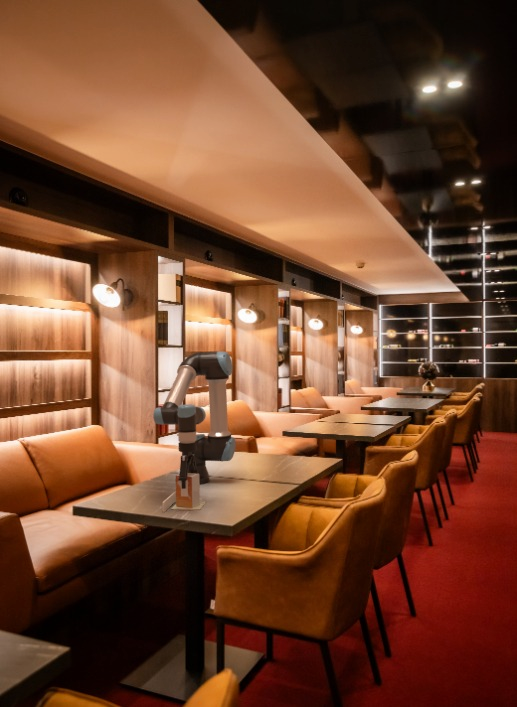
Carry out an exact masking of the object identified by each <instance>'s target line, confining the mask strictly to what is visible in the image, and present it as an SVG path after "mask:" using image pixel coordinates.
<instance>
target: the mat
mask: <svg viewBox="0 0 517 707" xmlns="http://www.w3.org/2000/svg"><path fill="white" fill-rule="evenodd" d="M206 503H207V501H201V500H200V505H198V506H196V507H194V508H189V507H181V506H176V503H174V504H173V505H172V506H171V507H170V508H171V509H174V511H177V510H178V511H179V510H180V511H182V510H183V511H185V510H187V511H190V510H191V511H199V510H201V509H202V508H203V507H204V505H205V504H206ZM171 509H170V510H171Z"/></svg>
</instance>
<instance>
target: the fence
mask: <svg viewBox="0 0 517 707" xmlns="http://www.w3.org/2000/svg"><path fill="white" fill-rule="evenodd" d="M161 504H162V513H165V512H167V510H169V509H170V508H171V507H172V506H173V505H175V504H176V490H174V492H172V493H171V494H170V495H169V496H168V497H167V498H165V499H164V500H163V501H162V503H161ZM172 504H173V505H172ZM171 505H172V506H171ZM170 506H171V507H170ZM169 507H170V508H169Z"/></svg>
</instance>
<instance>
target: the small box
mask: <svg viewBox="0 0 517 707" xmlns="http://www.w3.org/2000/svg"><path fill="white" fill-rule="evenodd" d="M179 474H180V473H178V474H176V475H175V491H176V502H175V504H176V506H181V507H189V508H194V507H196V506H198V505H200V501H201V494H200V493H201V492H200V491H201V489H200V485H201V484H200V483H199V474H194V473H188V475H187V480H188V496H181V481H179V480H178V478H179Z"/></svg>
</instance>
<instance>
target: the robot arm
mask: <svg viewBox="0 0 517 707" xmlns="http://www.w3.org/2000/svg"><path fill="white" fill-rule="evenodd" d="M176 374H177V375H176V377H175V380H174V381H173V383H172V386H171V388H170V390H169V392H168V394H167V396H166V398H165V400H164V402H163V405H162V407H161V406H159V407H155V408H154V411H153V414H152V415H153V421H154V423H155V424H156V425H163V426H164V425H165V426H167V425H168V426H169V425H177V434H176V436H177V437H178V452H180V453H181V455H180V465H179V473H178V474H179V478H178V480H179V481H181V496H188V480H187V475H188V473H194V474H199V483H200V485H202V484H206V483H209V482H210V474H209V472H208V468H207V466H206V464H207V463H206V462H230V461H231V460H232V459H233V458H234V455H235V451H236V444H237V443H236V438H235V437H233V436H232V433H231V431H229V424H228V423H229V422H228V403H227V402H228V401H227V400H228V399H227V396H228V395H227V381H228V380H229V379H230V376H231V375H232V374H233V361H232V358H231V356H230V354H229V353H228V352H227V351H222V350H221V351H220V350H218V351H197V352H194V353H192V354H190V355H188V356H187V357H186V358H184V359H183V360H182V362H181V363H180V364H179V365H178V368H177V371H176ZM199 376H204V378H205V379H204V380H205V381H206V382H207V383H208V401H209V402H208V403H209V425H210V426H209V427H210V430H209V432H208V433H207V436H206V434H204V433H197V425H200V424H201V423H203V422H204V421H205V419H206V410H205V409H204V408H202V407H201V406H196V405H195V404H183V403H184V399H185V398H186V395H187V394H188V391H189V388H190V386H191V384H192V382H193V381H195V380H196V378H197V377H199Z"/></svg>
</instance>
